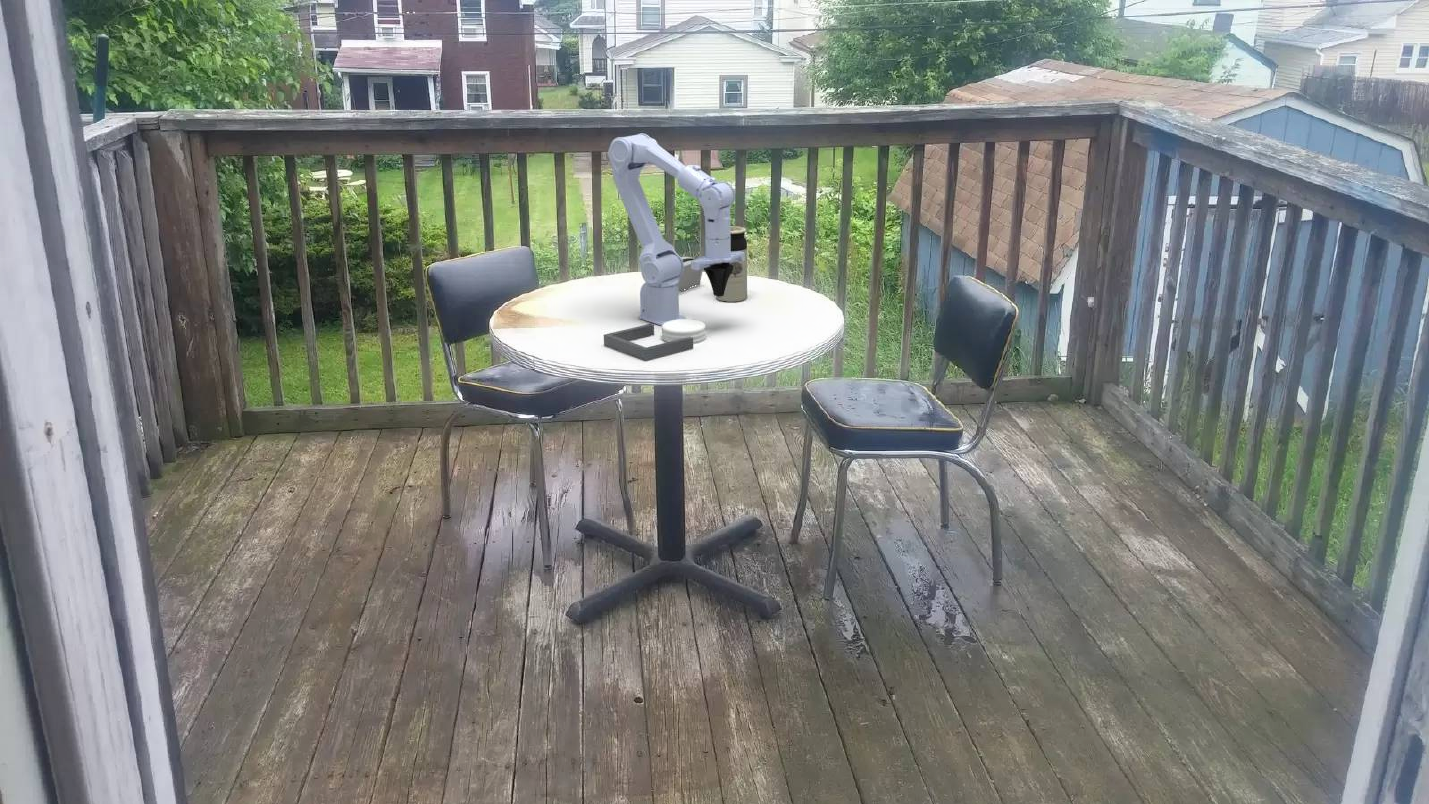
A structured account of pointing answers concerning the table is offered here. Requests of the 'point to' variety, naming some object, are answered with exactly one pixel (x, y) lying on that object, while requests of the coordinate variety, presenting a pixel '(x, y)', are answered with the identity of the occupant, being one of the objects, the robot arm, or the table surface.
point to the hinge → (689, 275)
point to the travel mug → (737, 269)
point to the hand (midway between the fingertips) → (718, 295)
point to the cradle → (623, 344)
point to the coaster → (683, 330)
